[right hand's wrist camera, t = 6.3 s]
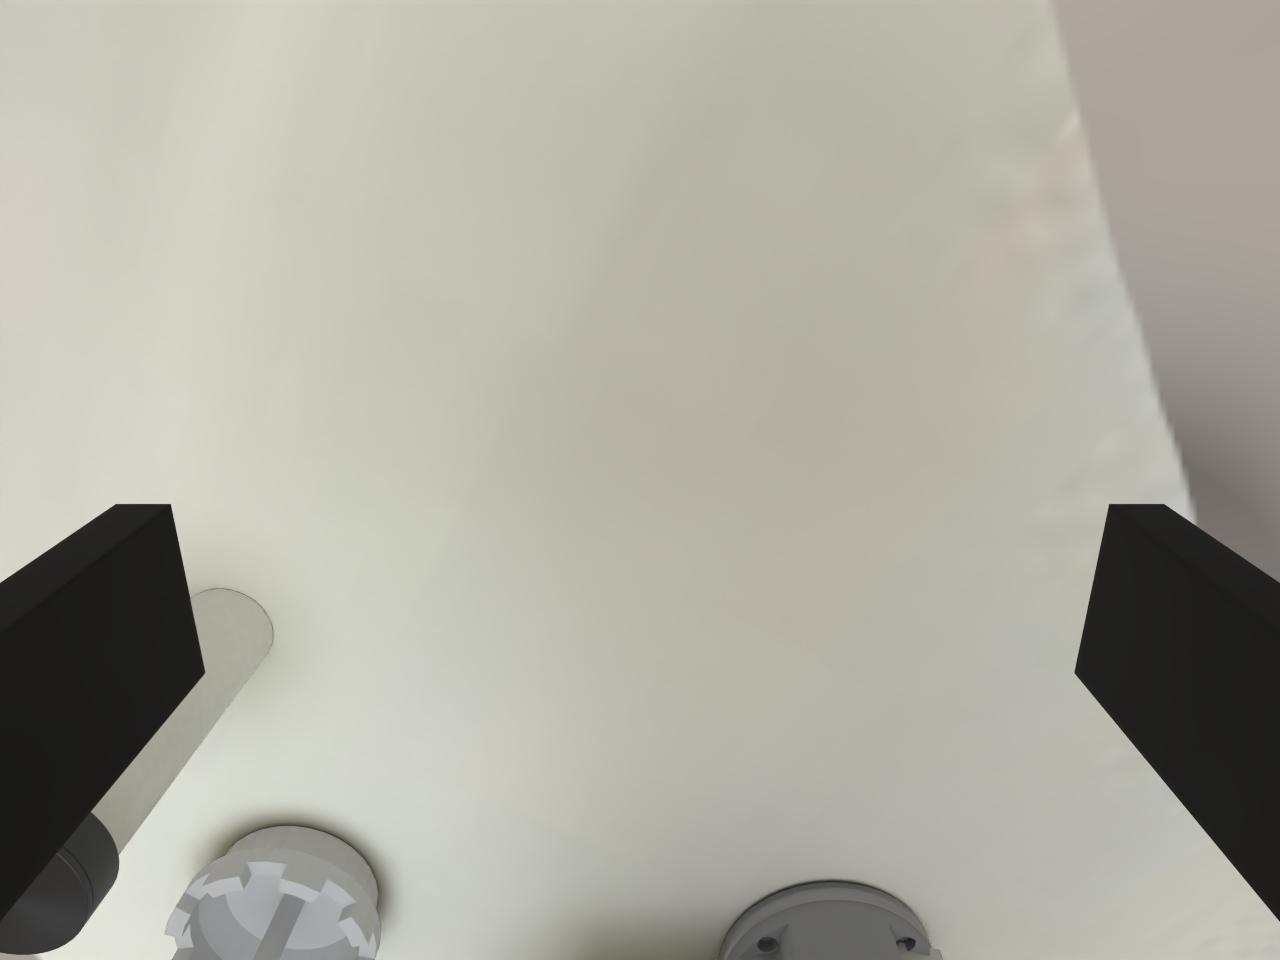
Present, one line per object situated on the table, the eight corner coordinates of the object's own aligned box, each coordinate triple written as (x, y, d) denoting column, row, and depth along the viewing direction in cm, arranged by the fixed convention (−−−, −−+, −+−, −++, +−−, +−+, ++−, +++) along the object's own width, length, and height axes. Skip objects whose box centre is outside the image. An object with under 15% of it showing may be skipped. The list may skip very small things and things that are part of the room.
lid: (33, 758, 35) (-7, 798, 33) (153, 866, 37) (123, 910, 35) (-78, 832, 36) (-123, 874, 34) (43, 932, 38) (8, 978, 36)
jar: (229, 572, 52) (3, 806, 34) (292, 639, 54) (109, 898, 35) (161, 618, 53) (-93, 869, 35) (225, 682, 55) (14, 955, 36)
